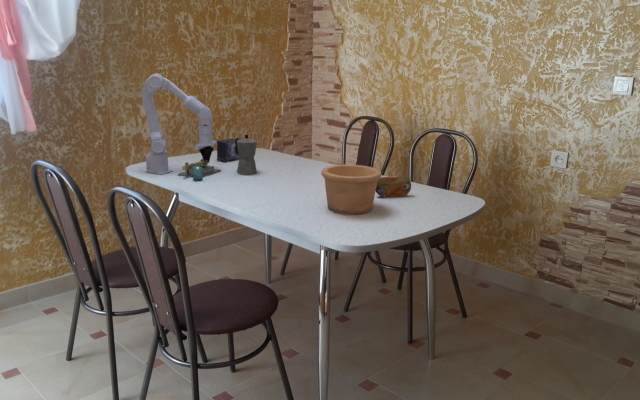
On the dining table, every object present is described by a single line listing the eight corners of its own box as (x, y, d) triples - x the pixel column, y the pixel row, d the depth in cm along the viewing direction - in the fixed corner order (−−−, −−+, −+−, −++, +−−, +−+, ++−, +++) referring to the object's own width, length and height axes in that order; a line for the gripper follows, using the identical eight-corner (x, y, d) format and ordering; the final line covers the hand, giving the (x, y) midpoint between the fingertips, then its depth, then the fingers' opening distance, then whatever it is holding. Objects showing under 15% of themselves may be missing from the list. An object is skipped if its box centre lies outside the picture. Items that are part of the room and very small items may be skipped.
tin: (376, 198, 217) (377, 177, 215) (373, 196, 220) (374, 176, 218) (410, 196, 221) (412, 176, 219) (407, 194, 224) (409, 174, 222)
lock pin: (181, 170, 240) (181, 165, 239) (202, 164, 254) (202, 159, 253) (186, 171, 239) (186, 166, 238) (207, 164, 253) (207, 159, 252)
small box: (225, 162, 274) (224, 142, 271) (216, 161, 277) (215, 140, 275) (240, 159, 282) (240, 139, 279) (231, 158, 286) (231, 138, 283)
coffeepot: (263, 174, 252) (263, 135, 247) (247, 177, 246) (246, 137, 241) (243, 168, 263) (243, 131, 258) (227, 171, 256) (226, 133, 252)
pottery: (343, 197, 218) (345, 161, 214) (390, 208, 204) (392, 170, 200) (308, 208, 202) (309, 170, 198) (356, 221, 188) (358, 181, 184)
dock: (178, 175, 246) (177, 161, 244) (199, 168, 260) (199, 155, 258) (200, 178, 241) (199, 164, 239) (220, 171, 255) (220, 158, 253)
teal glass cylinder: (191, 180, 237) (190, 167, 235) (197, 178, 241) (196, 165, 239) (199, 181, 235) (198, 168, 234) (204, 179, 239) (204, 166, 237)
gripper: (203, 136, 242) (204, 166, 246) (221, 132, 255) (222, 160, 259) (190, 135, 245) (191, 164, 249) (209, 131, 258) (210, 159, 261)
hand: (206, 162), depth 254 cm, fingers closed
